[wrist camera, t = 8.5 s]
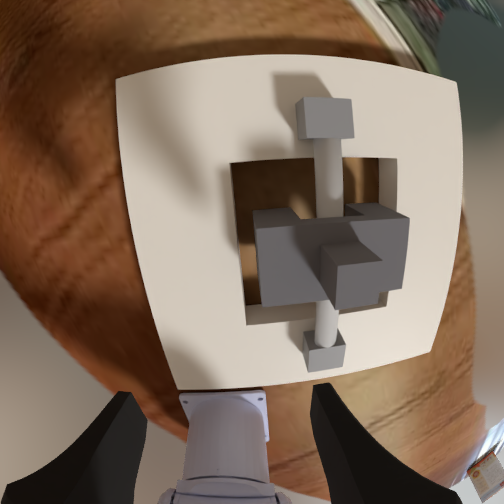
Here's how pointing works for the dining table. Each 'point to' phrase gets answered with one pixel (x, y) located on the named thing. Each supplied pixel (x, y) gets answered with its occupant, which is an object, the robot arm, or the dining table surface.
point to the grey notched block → (330, 255)
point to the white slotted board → (327, 205)
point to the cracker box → (487, 476)
